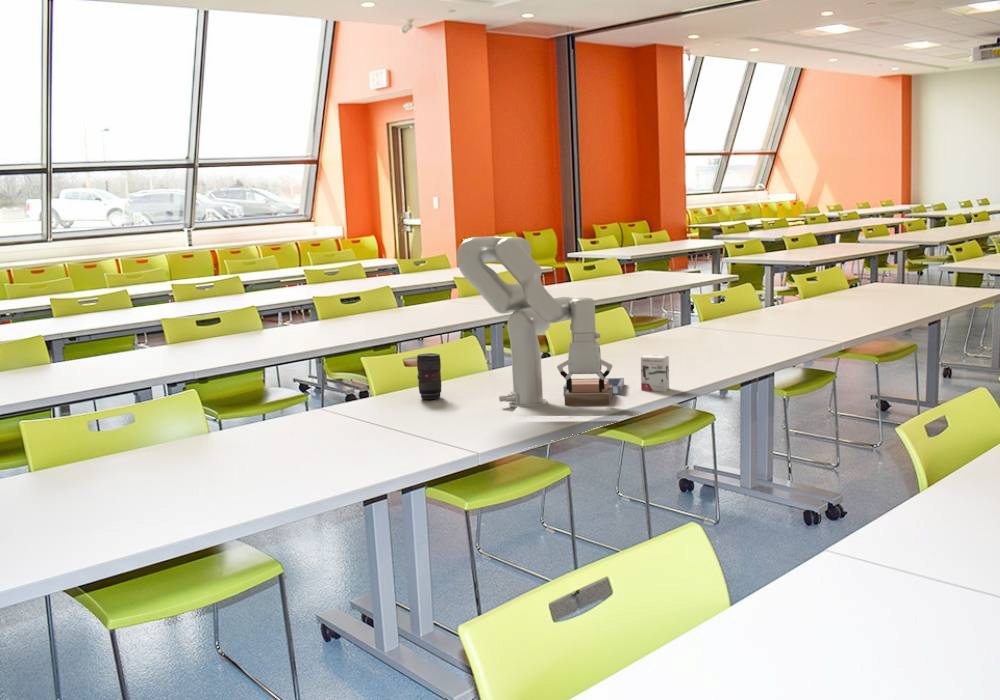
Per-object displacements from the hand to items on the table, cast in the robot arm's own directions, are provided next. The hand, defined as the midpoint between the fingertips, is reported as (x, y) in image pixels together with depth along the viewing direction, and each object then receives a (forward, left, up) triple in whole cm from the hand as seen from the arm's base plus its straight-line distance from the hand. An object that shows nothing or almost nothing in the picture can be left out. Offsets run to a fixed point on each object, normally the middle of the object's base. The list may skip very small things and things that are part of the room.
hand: (585, 391), depth 282 cm
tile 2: (+6, +10, -1) cm, 12 cm away
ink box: (+30, +11, -5) cm, 32 cm away
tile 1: (+3, +6, -1) cm, 7 cm away
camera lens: (-40, +42, -5) cm, 58 cm away
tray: (+13, +22, -5) cm, 26 cm away
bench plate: (+5, +8, -4) cm, 10 cm away
